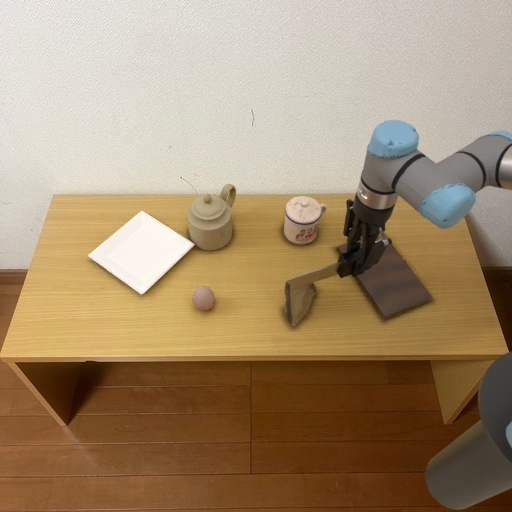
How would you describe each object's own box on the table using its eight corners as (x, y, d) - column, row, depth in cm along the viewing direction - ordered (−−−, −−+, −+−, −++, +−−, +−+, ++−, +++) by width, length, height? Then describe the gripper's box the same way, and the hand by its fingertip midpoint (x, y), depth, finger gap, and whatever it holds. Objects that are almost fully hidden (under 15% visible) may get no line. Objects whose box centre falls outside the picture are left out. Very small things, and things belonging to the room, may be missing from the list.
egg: (189, 311, 111) (186, 295, 105) (198, 293, 113) (196, 277, 108) (210, 317, 110) (208, 302, 104) (218, 299, 112) (217, 284, 107)
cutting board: (430, 300, 113) (432, 297, 112) (384, 319, 110) (385, 316, 109) (380, 233, 125) (381, 230, 124) (336, 249, 122) (337, 246, 120)
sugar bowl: (197, 205, 130) (192, 164, 118) (237, 209, 129) (236, 168, 117) (185, 248, 121) (178, 208, 109) (228, 253, 121) (226, 213, 108)
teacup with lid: (295, 251, 121) (299, 221, 112) (276, 227, 126) (278, 197, 116) (333, 232, 125) (340, 201, 116) (313, 209, 130) (318, 178, 120)
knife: (293, 294, 103) (297, 279, 98) (287, 284, 104) (291, 269, 100) (370, 268, 109) (377, 253, 105) (364, 259, 110) (370, 244, 106)
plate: (195, 248, 121) (195, 243, 120) (143, 299, 112) (141, 294, 111) (142, 214, 128) (141, 209, 126) (89, 259, 119) (87, 255, 117)
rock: (309, 270, 115) (272, 281, 111) (327, 269, 107) (288, 281, 103) (320, 313, 115) (283, 326, 112) (338, 316, 107) (300, 329, 104)
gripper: (337, 174, 93) (322, 247, 112) (382, 233, 84) (357, 301, 103) (370, 163, 94) (349, 237, 113) (417, 220, 86) (386, 289, 105)
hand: (353, 267), depth 108 cm, fingers closed on knife, 3 cm apart
